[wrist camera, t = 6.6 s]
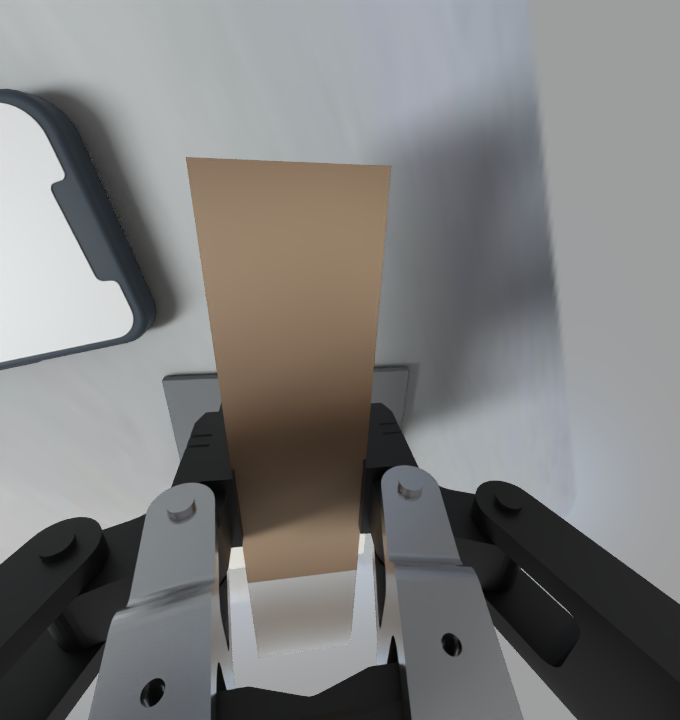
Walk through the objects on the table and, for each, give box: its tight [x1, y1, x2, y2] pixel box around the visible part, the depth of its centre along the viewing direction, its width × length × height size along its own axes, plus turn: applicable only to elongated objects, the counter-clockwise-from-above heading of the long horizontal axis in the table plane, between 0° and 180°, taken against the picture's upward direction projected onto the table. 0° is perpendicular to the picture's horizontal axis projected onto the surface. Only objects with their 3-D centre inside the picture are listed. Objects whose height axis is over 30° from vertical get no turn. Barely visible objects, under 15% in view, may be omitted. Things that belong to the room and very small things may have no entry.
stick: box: [186, 157, 391, 658], centre depth 10 cm, size 14×3×4 cm, turn 178°
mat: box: [162, 367, 409, 462], centre depth 20 cm, size 12×12×1 cm
